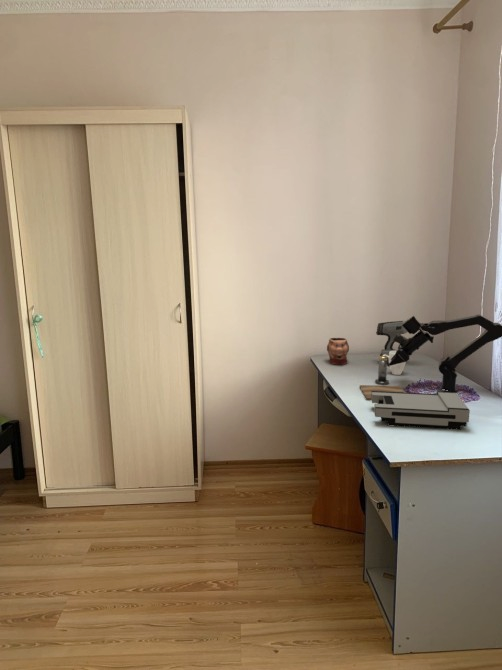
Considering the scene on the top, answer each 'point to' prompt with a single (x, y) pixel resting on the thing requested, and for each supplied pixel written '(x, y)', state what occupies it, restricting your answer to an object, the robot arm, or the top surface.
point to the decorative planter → (338, 350)
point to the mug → (395, 368)
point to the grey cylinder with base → (382, 371)
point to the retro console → (421, 409)
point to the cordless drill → (390, 334)
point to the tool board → (378, 389)
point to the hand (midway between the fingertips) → (390, 362)
